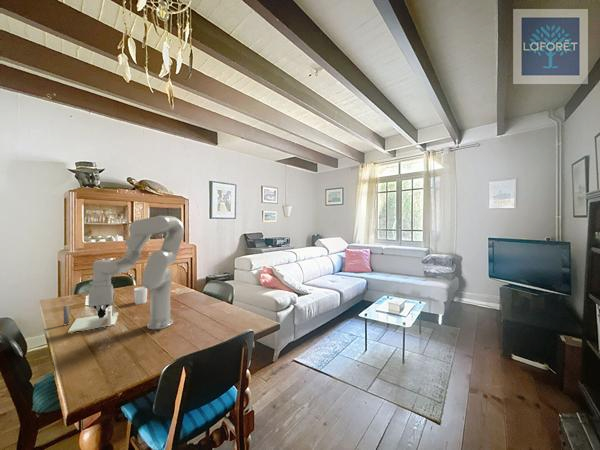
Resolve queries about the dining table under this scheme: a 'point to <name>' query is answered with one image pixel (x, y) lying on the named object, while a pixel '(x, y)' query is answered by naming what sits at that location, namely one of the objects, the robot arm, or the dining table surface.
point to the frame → (88, 321)
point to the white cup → (140, 295)
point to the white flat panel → (109, 315)
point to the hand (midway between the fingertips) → (101, 316)
